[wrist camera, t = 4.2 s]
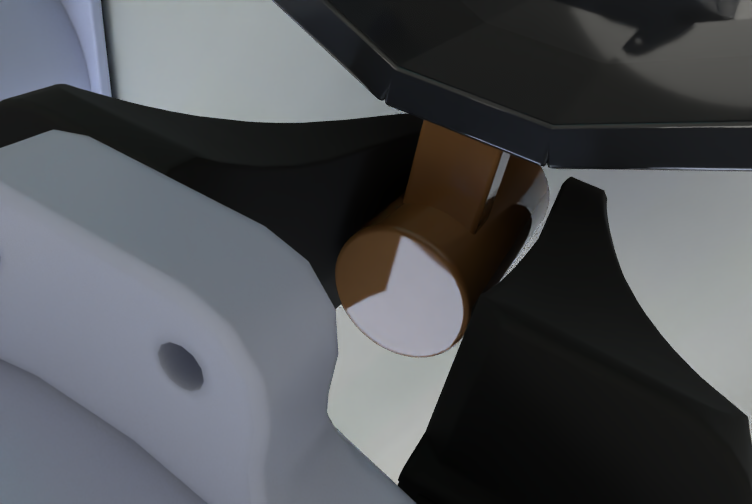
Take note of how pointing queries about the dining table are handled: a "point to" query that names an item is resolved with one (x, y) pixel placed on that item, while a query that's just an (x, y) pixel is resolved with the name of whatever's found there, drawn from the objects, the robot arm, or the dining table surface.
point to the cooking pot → (519, 129)
